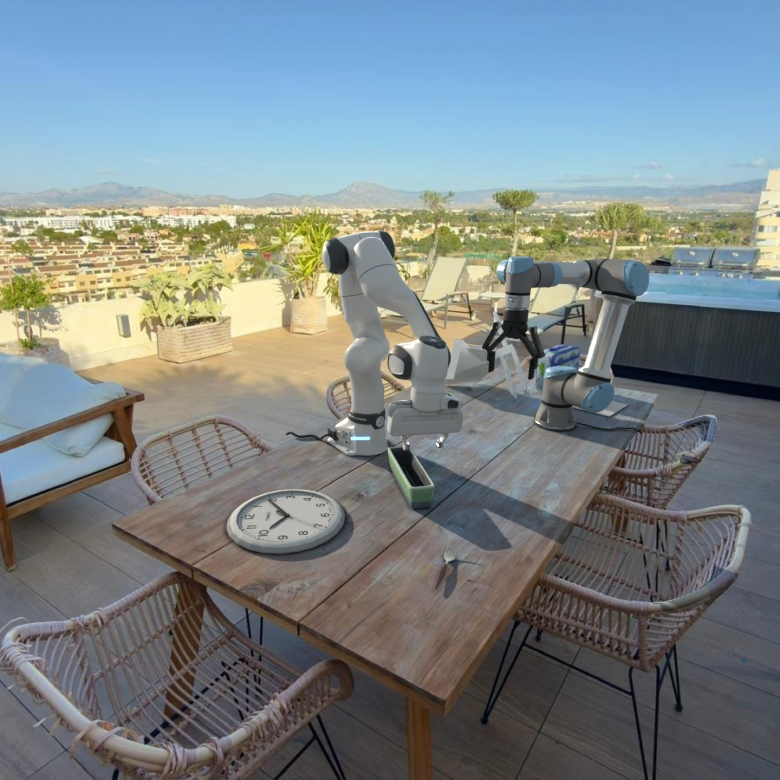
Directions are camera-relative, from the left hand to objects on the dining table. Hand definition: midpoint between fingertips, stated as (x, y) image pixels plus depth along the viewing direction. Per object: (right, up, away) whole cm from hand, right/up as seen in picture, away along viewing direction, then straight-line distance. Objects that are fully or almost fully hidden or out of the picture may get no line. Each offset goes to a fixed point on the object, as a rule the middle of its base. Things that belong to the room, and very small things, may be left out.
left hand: (422, 448), depth 139 cm
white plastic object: (+33, +14, +104) cm, 110 cm away
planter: (-3, -13, +14) cm, 19 cm away
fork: (+3, -25, -23) cm, 34 cm away
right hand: (+30, +20, +28) cm, 45 cm away
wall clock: (-35, -18, -4) cm, 40 cm away
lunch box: (+70, +16, +110) cm, 132 cm away
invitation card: (+83, +8, +87) cm, 120 cm away
